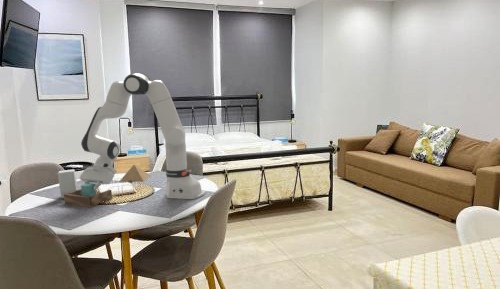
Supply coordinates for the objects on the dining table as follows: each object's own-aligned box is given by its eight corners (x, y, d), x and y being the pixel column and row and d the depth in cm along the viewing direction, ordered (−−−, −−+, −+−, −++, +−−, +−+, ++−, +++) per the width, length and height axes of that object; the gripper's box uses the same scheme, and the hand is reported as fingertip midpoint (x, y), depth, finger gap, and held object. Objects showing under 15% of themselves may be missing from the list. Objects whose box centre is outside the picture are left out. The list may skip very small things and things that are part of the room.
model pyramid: (117, 182, 231) (116, 167, 229) (127, 176, 248) (125, 162, 246) (143, 182, 231) (142, 167, 229) (151, 175, 248) (150, 161, 246)
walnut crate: (88, 195, 202) (87, 187, 202) (112, 198, 195) (111, 189, 194) (64, 203, 189) (63, 194, 188) (89, 207, 182) (88, 197, 181)
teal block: (97, 199, 194) (95, 183, 192) (89, 202, 189) (87, 186, 188) (90, 198, 196) (88, 182, 194) (82, 201, 191) (81, 185, 190)
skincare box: (78, 194, 206) (75, 168, 204) (77, 197, 200) (74, 170, 198) (61, 196, 203) (59, 170, 201) (60, 198, 198) (57, 172, 195)
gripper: (84, 163, 201) (71, 184, 194) (112, 165, 193) (99, 187, 185) (91, 169, 206) (79, 190, 199) (119, 171, 197) (107, 193, 190)
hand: (89, 189), depth 192 cm, fingers closed on teal block, 5 cm apart
